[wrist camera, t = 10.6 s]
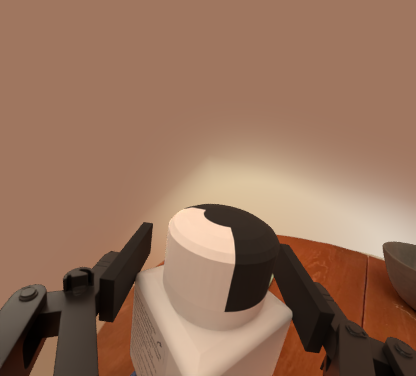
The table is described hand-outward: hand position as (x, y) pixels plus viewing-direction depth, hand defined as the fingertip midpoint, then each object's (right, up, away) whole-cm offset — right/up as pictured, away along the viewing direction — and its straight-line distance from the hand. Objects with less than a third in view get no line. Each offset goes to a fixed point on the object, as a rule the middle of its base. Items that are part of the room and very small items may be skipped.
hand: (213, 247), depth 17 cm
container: (-2, -9, -1) cm, 10 cm away
